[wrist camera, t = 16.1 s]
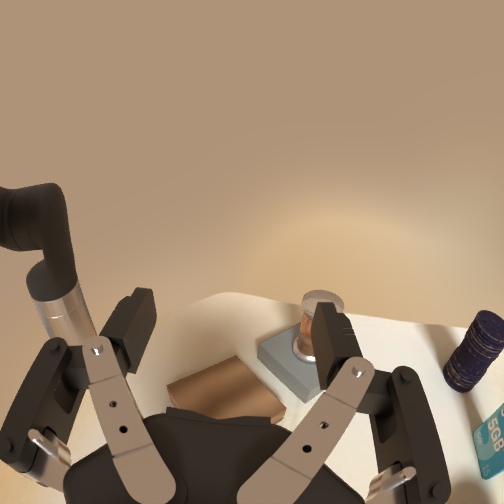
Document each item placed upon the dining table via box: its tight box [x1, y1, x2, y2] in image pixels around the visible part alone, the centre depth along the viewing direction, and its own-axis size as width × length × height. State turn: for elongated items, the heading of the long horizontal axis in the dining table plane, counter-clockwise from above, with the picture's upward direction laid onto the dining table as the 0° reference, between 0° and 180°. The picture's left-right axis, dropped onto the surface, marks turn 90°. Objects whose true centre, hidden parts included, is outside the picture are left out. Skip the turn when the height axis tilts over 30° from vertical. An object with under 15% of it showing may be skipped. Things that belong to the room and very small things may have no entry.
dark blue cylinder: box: [443, 310, 504, 393], centre depth 37 cm, size 10×10×15 cm
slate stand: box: [258, 322, 323, 403], centre depth 47 cm, size 13×13×4 cm
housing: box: [292, 290, 344, 364], centre depth 43 cm, size 7×7×11 cm
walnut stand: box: [166, 356, 286, 424], centre depth 37 cm, size 13×13×4 cm
